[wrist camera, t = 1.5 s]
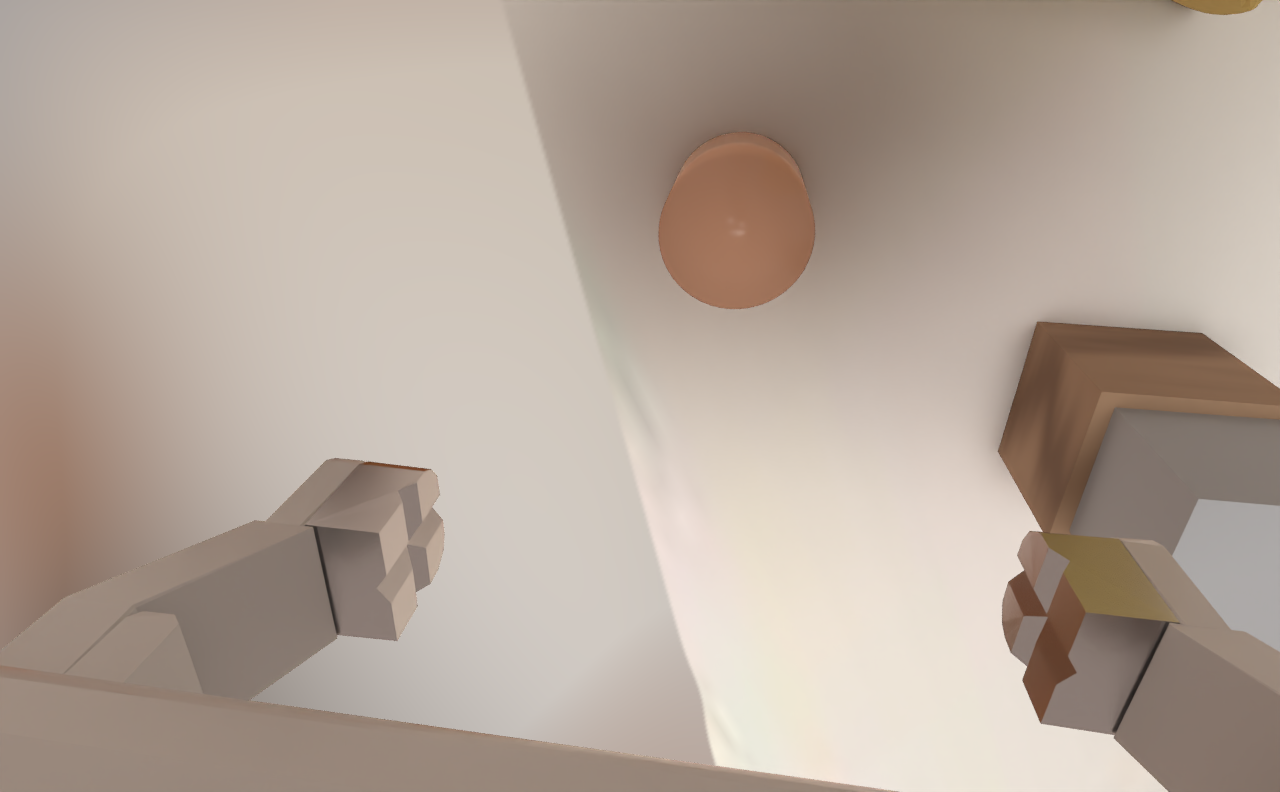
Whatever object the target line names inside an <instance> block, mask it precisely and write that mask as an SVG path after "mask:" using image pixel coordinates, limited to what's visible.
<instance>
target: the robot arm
mask: <svg viewBox="0 0 1280 792" xmlns="http://www.w3.org/2000/svg"><path fill="white" fill-rule="evenodd" d="M439 495H440V491H439V486H438V479H437V475H436V474H435V473H434V472H433V471H432V470H431V469H425V468H417V467H409V466H401V465H392V464H384V463H376V462H364V461H360V460H350V459H339V458H334V459H329V460H326V461H325V462H324V463H323V464H322V465H321V466H320V467H319V468H318V469H317V470H316V471H315V472H314V473H313V474H312V475H311V476H310V477H309V478H308V479H307V480H306V481H305V482H304V483H303V484H302V485H301V486H300V487H299V488H298V489H297V490H296V491H295V492H294V493H293V494H292V495H291V496H290V497H289V498H288V499H287V500H286V501H285V502H284V503H283V504H282V506H280V507H279V508H278V509H277V511H275V513H273V514H272V516H270V518H269V519H267V521H252V522H250V523H248V524H245V525H242V526H240V527H237V528H235V529H232V530H230V531H228V532H225V533H223V534H220V535H218V536H215V537H213V538H210V539H208V540H205V541H203V542H201V543H198V544H195V545H193V546H190V547H188V548H186V549H183V550H181V551H178V552H176V553H173V554H171V555H168V556H166V557H163V558H161V559H158V560H156V561H153V562H151V563H149V564H146V565H144V566H141V567H139V568H136V569H134V570H131V571H129V572H126V573H124V574H121V575H119V576H116V577H114V578H111V579H109V580H107V581H104V582H101V583H99V584H97V585H94V586H92V587H89V588H87V589H84V590H82V591H79V592H77V593H74V594H72V595H69V596H67V597H65V598H63V599H62V600H61V601H59V602H58V603H57V604H56V605H55V606H54V607H52V608H51V609H50V610H49V611H47V612H46V613H45V614H44V615H43V616H41V617H40V618H39V619H38V620H37V621H35V622H34V623H33V624H32V625H31V626H29V627H28V628H27V629H26V630H24V631H23V632H22V633H21V634H20V635H18V636H17V637H16V638H15V639H14V640H12V641H11V642H10V643H9V644H8V645H6V646H5V647H4V648H3V649H2V650H0V792H898V791H891V790H884V789H877V788H870V787H863V786H856V785H849V784H842V783H835V782H828V781H821V780H814V779H807V778H800V777H792V776H785V775H778V774H771V773H764V772H757V771H749V770H742V769H735V768H728V767H721V766H714V765H706V764H699V763H692V762H685V761H678V760H671V759H664V758H656V757H649V756H642V755H634V754H627V753H620V752H613V751H606V750H599V749H591V748H584V747H578V746H570V745H563V744H556V743H549V742H542V741H535V740H527V739H520V738H513V737H506V736H499V735H492V734H485V733H478V732H471V731H463V730H456V729H449V728H442V727H434V726H428V725H420V724H413V723H406V722H399V721H392V720H385V719H378V718H371V717H364V716H357V715H349V714H342V713H335V712H328V711H321V710H314V709H307V708H300V707H292V706H285V705H278V704H271V703H263V702H256V701H250V699H252V698H253V697H255V696H256V695H257V694H259V693H260V692H262V691H263V690H264V689H266V688H267V687H269V686H270V685H271V684H273V683H274V682H276V681H277V680H279V679H280V678H282V677H283V676H284V675H286V674H287V673H289V672H290V671H291V670H293V669H294V668H296V667H297V666H299V665H300V664H301V663H303V662H304V661H306V660H307V659H308V658H310V657H311V656H312V655H314V654H315V653H317V652H318V651H320V650H321V649H323V648H324V647H325V646H327V645H328V644H330V643H331V642H333V641H334V640H335V639H337V635H343V636H353V637H364V638H373V639H384V640H394V641H397V640H398V639H399V637H400V635H401V634H402V632H403V630H404V629H405V627H406V625H407V623H408V622H409V620H410V618H411V617H412V615H413V613H414V611H415V610H416V608H417V606H418V605H417V597H416V592H417V591H419V590H420V589H422V588H424V587H425V586H427V585H429V584H430V583H431V582H432V580H433V578H434V576H435V574H436V572H437V571H438V569H439V565H440V561H441V558H442V554H443V550H444V526H443V520H442V518H441V517H440V516H439V515H438V514H437V513H436V511H435V510H434V509H433V508H432V506H433V505H434V503H435V502H436V500H437V499H438V497H439ZM1017 556H1018V558H1019V560H1020V562H1021V564H1022V566H1023V568H1024V571H1023V572H1021V573H1020V574H1018V575H1017V576H1016V577H1014V578H1013V579H1011V580H1010V581H1009V582H1008V585H1007V588H1006V591H1005V595H1004V598H1003V602H1002V625H1003V630H1004V635H1005V639H1006V642H1007V644H1008V647H1009V649H1010V652H1011V653H1012V654H1013V655H1014V656H1015V657H1017V658H1018V659H1019V660H1020V661H1021V662H1023V663H1024V664H1025V665H1026V666H1027V669H1026V671H1025V674H1024V677H1023V680H1022V681H1023V683H1024V685H1025V688H1026V690H1027V692H1028V695H1029V697H1030V700H1031V702H1032V704H1033V707H1034V709H1035V711H1036V714H1037V716H1038V718H1039V721H1040V723H1041V724H1047V725H1053V726H1060V727H1066V728H1073V729H1079V730H1086V731H1092V732H1099V733H1105V734H1112V735H1115V736H1114V739H1115V740H1116V741H1117V742H1118V743H1119V744H1120V745H1121V746H1122V747H1123V748H1124V749H1125V750H1126V751H1127V752H1128V753H1129V754H1131V755H1132V756H1133V757H1134V758H1135V759H1136V760H1137V761H1138V762H1139V763H1140V764H1141V765H1142V766H1143V767H1144V768H1145V769H1146V770H1147V771H1148V772H1149V773H1150V774H1151V775H1152V776H1153V777H1154V778H1155V779H1156V780H1157V781H1158V782H1159V783H1160V784H1161V785H1162V786H1163V787H1164V788H1165V789H1167V790H1168V791H1169V792H1280V652H1279V651H1277V650H1276V649H1274V648H1272V647H1271V646H1269V645H1267V644H1265V643H1264V642H1262V641H1260V640H1259V639H1257V638H1255V637H1254V636H1252V635H1250V634H1249V633H1247V632H1244V631H1236V630H1231V629H1230V628H1229V627H1228V625H1227V624H1226V623H1225V622H1224V620H1223V619H1222V618H1221V617H1220V615H1219V614H1218V613H1217V612H1216V610H1215V609H1214V608H1213V607H1212V605H1211V604H1210V603H1209V602H1208V600H1207V599H1206V598H1205V597H1204V595H1203V594H1202V593H1201V592H1200V590H1199V589H1198V588H1197V587H1196V585H1195V584H1194V583H1193V582H1192V580H1191V579H1190V578H1189V577H1188V576H1187V574H1186V573H1185V572H1184V571H1183V569H1182V568H1181V567H1180V566H1179V564H1178V563H1177V562H1176V561H1175V559H1174V558H1173V557H1172V556H1171V554H1170V553H1169V552H1168V551H1167V549H1166V548H1165V547H1164V546H1163V545H1161V544H1159V543H1157V542H1155V541H1153V540H1142V539H1128V538H1114V537H1111V538H1104V537H1093V536H1081V535H1070V534H1058V533H1047V532H1036V531H1029V533H1028V534H1027V535H1026V536H1025V538H1024V539H1023V540H1022V543H1021V546H1020V549H1019V552H1018V555H1017Z"/></svg>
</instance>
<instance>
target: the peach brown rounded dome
mask: <svg viewBox="0 0 1280 792" xmlns="http://www.w3.org/2000/svg"><path fill="white" fill-rule="evenodd" d="M814 238H815V223H814V216H813V212H812V208H811V205H810V201H809V198H808V194H807V191H806V188H805V184H804V181H803V178H802V175H801V172H800V170H799V168H798V166H797V164H796V162H795V161H794V159H793V158H792V156H791V155H790V154H789V153H788V152H787V151H786V150H785V149H784V148H783V147H782V146H781V145H779V144H778V143H776V142H775V141H773V140H771V139H770V138H767V137H765V136H762V135H759V134H755V133H748V132H734V133H727V134H724V135H720V136H717V137H715V138H713V139H711V140H709V141H707V142H705V143H704V144H702V145H701V146H700V147H698V148H697V149H696V150H695V151H694V152H693V153H692V154H691V155H690V156H689V157H688V159H687V160H686V161H685V163H684V164H683V166H682V168H681V170H680V172H679V174H678V176H677V178H676V180H675V183H674V185H673V187H672V189H671V191H670V193H669V196H668V198H667V200H666V202H665V205H664V207H663V210H662V213H661V217H660V222H659V245H660V251H661V255H662V258H663V261H664V263H665V265H666V268H667V270H668V271H669V273H670V274H671V276H672V278H673V279H674V280H675V281H676V282H677V284H678V285H679V286H680V287H681V288H682V289H683V290H684V291H686V292H687V293H688V294H690V295H691V296H692V297H694V298H696V299H698V300H699V301H701V302H704V303H706V304H709V305H712V306H716V307H719V308H727V309H742V308H750V307H754V306H758V305H761V304H764V303H766V302H769V301H771V300H772V299H774V298H776V297H778V296H779V295H781V294H782V293H784V292H785V291H786V290H787V289H788V288H789V287H791V286H792V285H793V284H794V282H795V281H796V280H797V279H798V278H799V276H800V275H801V274H802V272H803V271H804V269H805V267H806V265H807V263H808V261H809V259H810V256H811V253H812V249H813V245H814Z"/></svg>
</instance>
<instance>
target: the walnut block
mask: <svg viewBox="0 0 1280 792" xmlns="http://www.w3.org/2000/svg"><path fill="white" fill-rule="evenodd" d="M1115 407H1117V408H1130V409H1143V410H1157V411H1170V412H1184V413H1197V414H1210V415H1224V416H1237V417H1251V418H1264V419H1277V420H1280V389H1279V388H1278V387H1277V386H1275V385H1274V384H1272V383H1271V382H1270V381H1268V380H1267V379H1265V378H1264V377H1263V376H1261V375H1260V374H1258V373H1257V372H1256V371H1254V370H1253V369H1251V368H1250V367H1249V366H1247V365H1246V364H1244V363H1243V362H1242V361H1240V360H1239V359H1237V358H1236V357H1235V356H1233V355H1232V354H1230V353H1229V352H1228V351H1226V350H1225V349H1223V348H1222V347H1221V346H1219V345H1218V344H1217V343H1215V342H1214V341H1212V340H1211V339H1210V338H1208V337H1207V336H1205V335H1204V334H1203V333H1191V332H1177V331H1163V330H1149V329H1135V328H1120V327H1106V326H1092V325H1078V324H1063V323H1049V322H1037V325H1036V328H1035V331H1034V335H1033V338H1032V341H1031V344H1030V348H1029V351H1028V354H1027V358H1026V361H1025V364H1024V368H1023V371H1022V374H1021V377H1020V381H1019V384H1018V387H1017V391H1016V394H1015V397H1014V400H1013V404H1012V407H1011V410H1010V414H1009V417H1008V420H1007V424H1006V427H1005V430H1004V433H1003V437H1002V440H1001V443H1000V447H999V450H998V452H999V454H1000V456H1001V458H1002V459H1003V461H1004V463H1005V465H1006V467H1007V468H1008V470H1009V472H1010V474H1011V476H1012V477H1013V479H1014V481H1015V483H1016V485H1017V486H1018V488H1019V490H1020V492H1021V493H1022V495H1023V497H1024V499H1025V501H1026V502H1027V504H1028V506H1029V508H1030V510H1031V511H1032V513H1033V515H1034V517H1035V519H1036V520H1037V522H1038V524H1039V526H1040V527H1041V529H1042V531H1043V532H1047V533H1058V534H1070V535H1071V533H1070V531H1069V530H1070V527H1071V525H1072V522H1073V519H1074V517H1075V514H1076V511H1077V508H1078V506H1079V503H1080V500H1081V498H1082V495H1083V492H1084V490H1085V487H1086V484H1087V481H1088V479H1089V476H1090V473H1091V471H1092V468H1093V465H1094V463H1095V460H1096V457H1097V454H1098V452H1099V449H1100V446H1101V444H1102V441H1103V438H1104V436H1105V433H1106V430H1107V428H1108V425H1109V422H1110V419H1111V417H1112V414H1113V411H1114V409H1115Z"/></svg>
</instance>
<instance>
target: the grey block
mask: <svg viewBox="0 0 1280 792" xmlns="http://www.w3.org/2000/svg"><path fill="white" fill-rule="evenodd" d="M1069 531H1070V533H1071V535H1081V536H1093V537H1104V538H1111V537H1114V538H1128V539H1142V540H1153V541H1155V542H1157V543H1159V544H1161V545H1163V546H1164V547H1165V548H1166V549H1167V551H1168V552H1169V553H1170V554H1171V556H1172V557H1173V558H1174V559H1175V561H1176V562H1177V563H1178V564H1179V566H1180V567H1181V568H1182V569H1183V571H1184V572H1185V573H1186V574H1187V576H1188V577H1189V578H1190V579H1191V580H1192V582H1193V583H1194V584H1195V585H1196V587H1197V588H1198V589H1199V590H1200V592H1201V593H1202V594H1203V595H1204V597H1205V598H1206V599H1207V600H1208V602H1209V603H1210V604H1211V605H1212V607H1213V608H1214V609H1215V610H1216V612H1217V613H1218V614H1219V615H1220V617H1221V618H1222V619H1223V620H1224V622H1225V623H1226V624H1227V625H1228V627H1229V628H1230V629H1231V630H1236V631H1244V632H1247V633H1249V634H1250V635H1252V636H1254V637H1255V638H1257V639H1259V640H1260V641H1262V642H1264V643H1265V644H1267V645H1269V646H1271V647H1272V648H1274V649H1276V650H1277V651H1279V652H1280V420H1277V419H1264V418H1251V417H1237V416H1224V415H1210V414H1197V413H1184V412H1170V411H1157V410H1143V409H1130V408H1117V407H1115V409H1114V411H1113V414H1112V417H1111V419H1110V422H1109V425H1108V428H1107V430H1106V433H1105V436H1104V438H1103V441H1102V444H1101V446H1100V449H1099V452H1098V454H1097V457H1096V460H1095V463H1094V465H1093V468H1092V471H1091V473H1090V476H1089V479H1088V481H1087V484H1086V487H1085V490H1084V492H1083V495H1082V498H1081V500H1080V503H1079V506H1078V508H1077V511H1076V514H1075V517H1074V519H1073V522H1072V525H1071V527H1070V530H1069Z"/></svg>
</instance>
